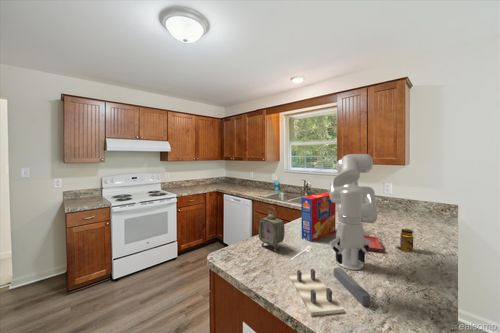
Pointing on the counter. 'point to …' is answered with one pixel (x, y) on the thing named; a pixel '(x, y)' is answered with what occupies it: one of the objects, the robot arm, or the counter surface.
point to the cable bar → (352, 286)
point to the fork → (302, 252)
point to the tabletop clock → (271, 229)
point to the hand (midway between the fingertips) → (350, 261)
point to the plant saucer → (374, 244)
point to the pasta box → (317, 216)
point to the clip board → (315, 294)
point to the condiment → (406, 241)
